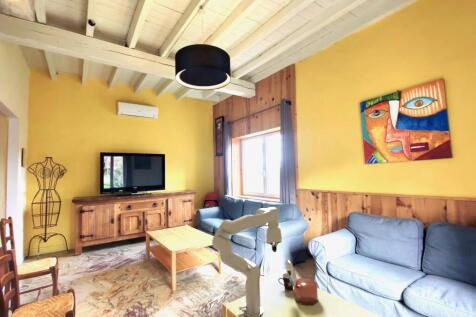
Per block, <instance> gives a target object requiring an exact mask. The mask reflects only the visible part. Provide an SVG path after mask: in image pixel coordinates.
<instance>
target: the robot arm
mask: <svg viewBox="0 0 476 317" xmlns="http://www.w3.org/2000/svg"><path fill="white" fill-rule="evenodd" d="M261 226H266V244H267V245H271V251H272V252H273V253H276V252H277V250H278V248H277V246H278V245H279V243H280V244H281V243H282V241H283V240H282V239H283V238H282V231H281V228H280V226H279V210H278V208H277V207H273V206H272V207H267V208H266V207H265V208H263V207H262V208H258V209H257V210H256V212H255V214H245V215H243V216H241V217H238V218H236V219H235V218H234V219H233V220H231V219H224V220H223V221H222V222H221V223H220V224H219V227H218V228H217V230H216V232H215V233H214V236H213V238H212V241H211V243H212V246H213V247H214V248H215V249H216V250H217V251H219V259H220V261H221V262H222V264H224V265H226V266H227V267H229V268H231V269H233V270H234V271H236V272H239V273H241V274H243V275H244V276H245V277H246V280H245V284H244V286H245V303H244V305H242V306H238V309H239V311H241V312H243V313H245V314H244V315H245V316H246V315H247V316H246V317H248V316H249V317H262V315H263V314H264V309H263V308H262V306H261V289H260V288H261V286H260V283H261V282H260V279H261V269H260V267H259V265H258V264H256V263H254V262H253V261H250V259H248V258H245V257H244V256H242V255H240V254H238V253H237V252H233V250H232V249H233V246H232V242H231V241H230V240H229V239H228V238H227V237H228V235H231V236H235V235H237V234H240V233H241V232H243V231H246V230H247V229H250V228H255V227H257V228H258V227H261Z"/></svg>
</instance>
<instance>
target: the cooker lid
mask: <svg viewBox="0 0 476 317" xmlns="http://www.w3.org/2000/svg"><path fill="white" fill-rule="evenodd" d="M284 265H285V271H286V273H287V275H288V278H289V280H290V282H291V284H292V285H293V287H294V286H296V285H297V279H298V278H297V273H296V270H295V268H294V265H293V263H292V261H290V259H286V260H285V264H284Z"/></svg>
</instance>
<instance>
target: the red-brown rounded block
mask: <svg viewBox="0 0 476 317" xmlns="http://www.w3.org/2000/svg"><path fill="white" fill-rule="evenodd" d="M293 291H294V292H293V293H294V301H295V302H296V303H298V304H300V305H303V306H314V305H316V304H317V303H318V302H319V298H318V283H317V282H316V281H315V280H313V279H311V278H307V277H306V278H305V277H301V278H300V277H299V278H297V285H296V286H293Z"/></svg>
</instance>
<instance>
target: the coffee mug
mask: <svg viewBox="0 0 476 317" xmlns="http://www.w3.org/2000/svg"><path fill="white" fill-rule="evenodd" d="M280 279H281V280H282V281H283V283H282V282H281V281H280ZM278 283H279V284H280V285H282V286H284V289H285V291H288V292H291V291H294V286H293V285H292V284H291V282H290V280H289V278H288V275H287V272H286V273H283V274H282V277H279V278H278Z"/></svg>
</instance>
